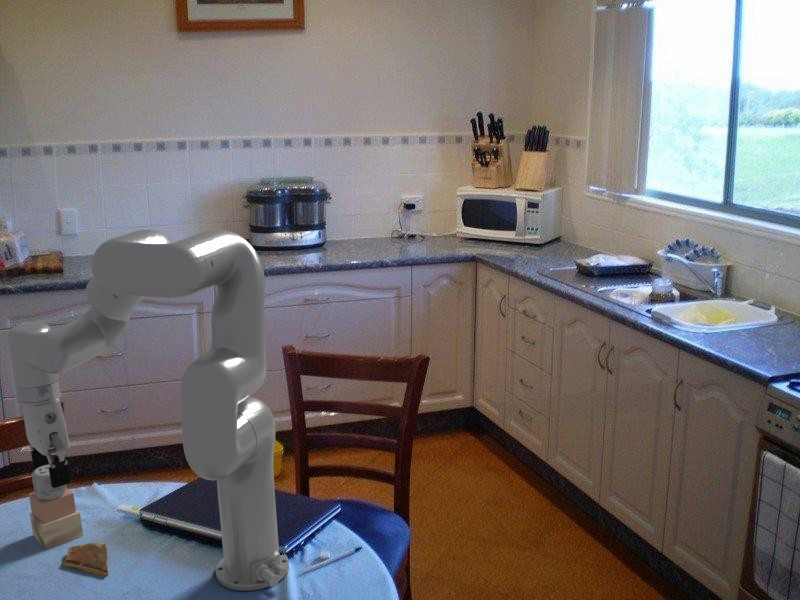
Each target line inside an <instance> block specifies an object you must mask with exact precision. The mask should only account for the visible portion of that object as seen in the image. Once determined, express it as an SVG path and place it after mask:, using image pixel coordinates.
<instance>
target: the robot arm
mask: <svg viewBox="0 0 800 600" xmlns="http://www.w3.org/2000/svg"><path fill="white" fill-rule="evenodd" d="M90 266H91V274H92V276H93V277H92V278H90V280H89V281H88V282H87V284H86V288H85V295H86V298H87V301H88V303H89V305H90V306H91V307H90V308H89V309H88V310H87V311H86V312H85V313H84V314H83V315H82V316H81V317H80V318H78V319H76V320H73V321H70V322H69V323H65V324H64V325H61V326H59V327H56V328H54V329H52V328H51V327H50V325H48V324H46V323H45V322H37V321H36V322H35V321H33V322H25V323H22V324H18V325H15V326H13V327H11V328H10V329H9V330H8V331H7V336H6V339H7V347H8V351H9V358H10V365H11V370H12V377H13V383H14V390H15V391H14V392H15V395H16V401H17V404H18V405H21V406H22V411H23V412H22V413H23V421H24V428H25V433H26V438H27V441H28V442H29V448H30V455H31V459H32V466H33V467H32V468H33V471H35V470H36V469H37V468H39V467H41V466H44V465H49V464H50V467H49V474H50V480H51V486H52V487H53V488H57V487H60V486H63V485H66V486H67V485H69V484H70V483H71V479H70V473H69V471H70V470H69V465H68V460H67V458H68V457H67V454H66V452H67V451H68V450H69V449H70V447H71V445H70V440H69V434H68V433H69V432H68V430H67V424H66V419H65V415H64V412H63V407H62V403H61V402H60V401H61V400H60V398H61V397H62V390H61V384H60V377H59V375H60V374H63V373H65V372H67V371H70V370H72V369H73V368H76V367H78V366H79V365H81V364H84V363H85V362H88V361H90V360H92V359H94V358H96V357H99V356H100V355H102V354H103V353H104V352H105V351H107V350H108V349H109V347H110V346H112V345H113V343H114V342H115V341H117V339H118V338H119V337H120V336H121V335H122V334H123V333H124V331H125V330H126V328H127V327H128V325H129V323H130V319H131V317H132V316H131V315H132V314H131V313H132V312H133V311H134V310H135V308H136V307H137V306H138V305H139V304H140V303H141V302H142V301H143V300H144V298H146V297H149V298H158V299H159V298H163V299H183V298H188V297H190V296H191V297H192V296H194V295H196V294H199V293H201V292H202V291H205V290H207V289H209V288H212V287H214V286H216V293H215V296H214V297H215V298H214V301H213V304H212V309H211V314H210V315H211V316H210V324H211V325H210V326H211V343H210V344H211V346H210V348H209V349H208V351H207V352H206V353H203V354H202V355H201V356H199V357H198V358H196V359H195V360H193V361H192V362H191V363H190V364H189V365H188V367H187V368H186V369H185V372H184V374H183V375H182V379H181V384H180V385H181V386H180V408H181V409H180V410H181V412H180V413H181V430H182V431H181V432H182V446H183V451H184V452H183V453H184V455H185V456H184V457H185V459H186V462H187V463H188V465H189V467H190V468H191V470H192V471H193V473H194V474H196V475H197V476H198V477H200V478H202V479H204V480H207V481H216V483H217V485H216V487H217V498H218V499H217V501H218V508H219V509H218V510H219V521H220V529H221V530H220V531H221V544H222V555H223V557H222V558H221V559H220V560H219V562H218V563H217V564H216V567H215V576H216V579H217V581H218V582H219V584H221V585H222V586H223V587H225V588H228V589H229V590H234V591H241V592H245V591H246V592H247V591H257V590H263V589H265V588H268V587H271V588H274V587H276V586H277V585H278V584H279V582H280V581H281V580H283V579H284V578H285V577H286V575H287V573H288V572H289V570H290V561H289V557H288V556H287V554H286V553H284V555H283V554H282V555H280V553H279V550H280V547H279V534H278V522H277V521H278V519H277V508H276V507H277V505H276V495H275V494H276V492H275V490H276V489H275V475H274V474H275V473H274V454H275V453H274V452H275V444H276V424H275V423H276V422H275V418H274V415H273V413H272V410H271V409H270V408H269V407H268V405H267V404H266V403H265V402H264V401H262V400H261V399H258V398H257V397H252V396H251V395H253V394H254V393H255V392H256V391H257V390H259V389H260V388H261V387H262V385H264V384H263V383H264V382H265V380H266V376H267V353H266V352H267V349H266V346H267V345H266V344H267V343H266V323H265V321H266V320H265V319H266V318H265V302H266V301H265V298H266V296H265V295H266V279H265V273H264V272H265V271H264V266H263V264H262V261H261V258H260V256H259V254H258V253H257V251H256V249H255V247H253V246H252V244H251V243H250V242H249V241H248V240H246V239H245V237H243V236H241V235H240V234H238V233H235V232H233V231H230V230H226V229H211V230H207V231H203V232H200V233H197V234H195V235H192V236H189V237H185V238H183V239H180V240H177V241H174V242H171V240H170V239H169V238H168V237H167V236H166V235H165V234H163V233H162V232H159V231H157V230H154V229H141V230H140V229H139V230H135V231H131V232H129V233H126V234H122V235H119V236H116V237H113V238H110V239H107V240H106V241H104V242H102V243H101V244H100V245H99V246H98V247H97V248H96V250H95V251H94V253H93V255H92V259H91V265H90ZM54 455H55V456H54ZM53 456H54V458H53Z"/></svg>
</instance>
